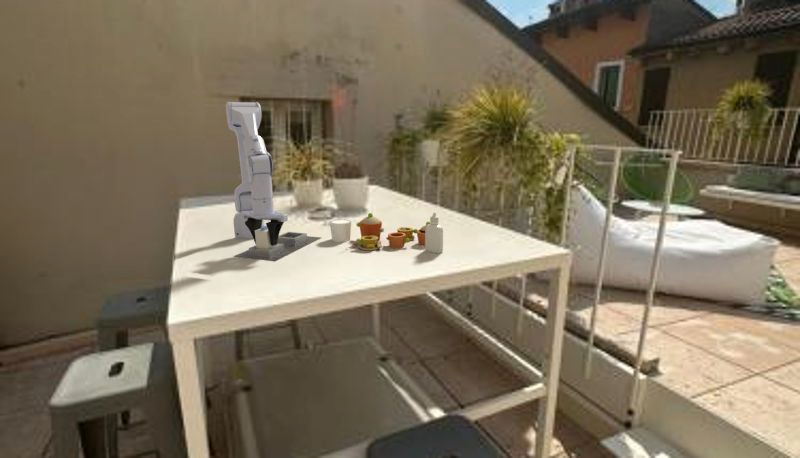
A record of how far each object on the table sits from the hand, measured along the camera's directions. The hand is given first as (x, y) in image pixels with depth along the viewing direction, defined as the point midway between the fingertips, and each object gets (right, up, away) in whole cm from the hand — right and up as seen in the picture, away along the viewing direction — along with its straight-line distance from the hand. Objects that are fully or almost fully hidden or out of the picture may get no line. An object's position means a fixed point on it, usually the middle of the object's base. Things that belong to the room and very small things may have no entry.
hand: (266, 244), depth 123 cm
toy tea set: (+37, -1, +15) cm, 40 cm away
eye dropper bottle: (+49, -3, +5) cm, 49 cm away
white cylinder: (+20, 0, +15) cm, 25 cm away
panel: (+2, -2, +7) cm, 8 cm away
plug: (0, -3, +1) cm, 3 cm away
